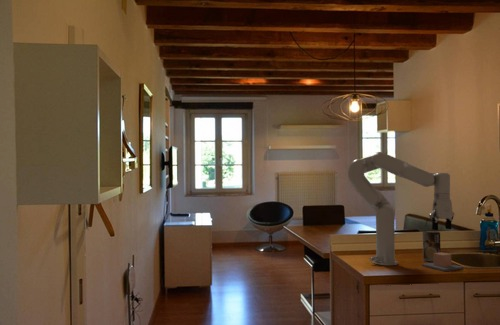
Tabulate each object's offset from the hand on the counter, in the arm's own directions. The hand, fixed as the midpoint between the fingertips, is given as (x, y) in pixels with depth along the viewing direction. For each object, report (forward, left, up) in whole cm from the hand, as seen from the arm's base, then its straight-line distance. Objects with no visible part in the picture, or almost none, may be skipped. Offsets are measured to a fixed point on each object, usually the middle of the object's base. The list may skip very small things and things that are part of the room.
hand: (441, 229), depth 227 cm
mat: (0, 0, -20) cm, 20 cm away
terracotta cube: (0, 0, -19) cm, 19 cm away
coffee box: (+9, +15, -20) cm, 26 cm away
